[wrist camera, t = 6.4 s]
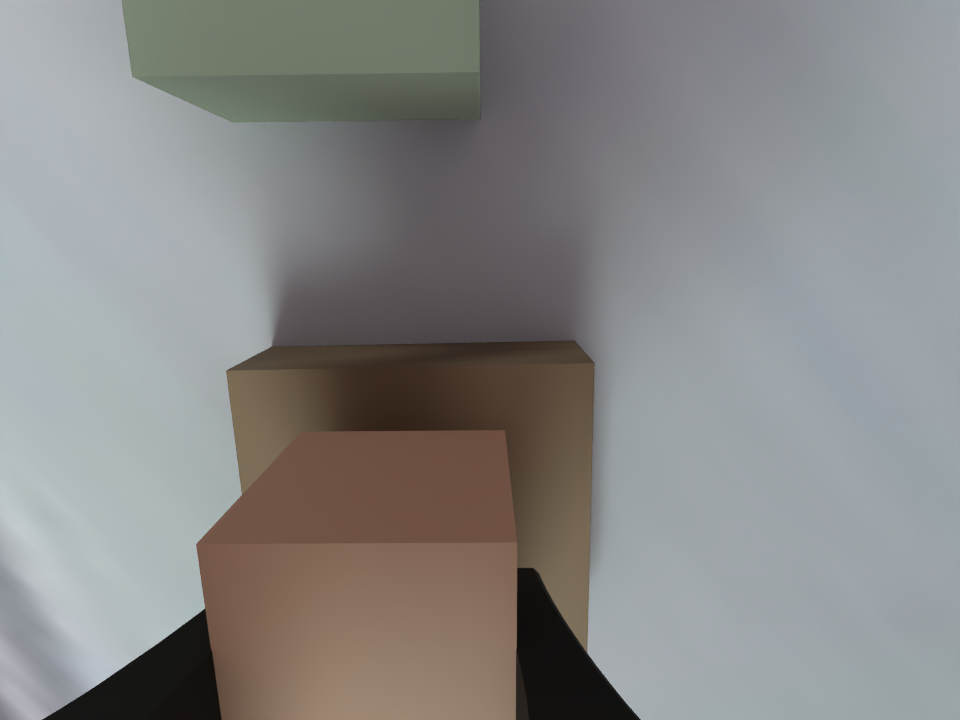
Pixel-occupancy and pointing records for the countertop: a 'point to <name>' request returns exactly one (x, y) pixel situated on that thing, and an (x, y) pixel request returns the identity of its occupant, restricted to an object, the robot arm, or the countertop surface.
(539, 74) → the countertop surface
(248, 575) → the terracotta brick
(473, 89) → the sage brick
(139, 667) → the robot arm
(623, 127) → the countertop surface
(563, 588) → the walnut slab
